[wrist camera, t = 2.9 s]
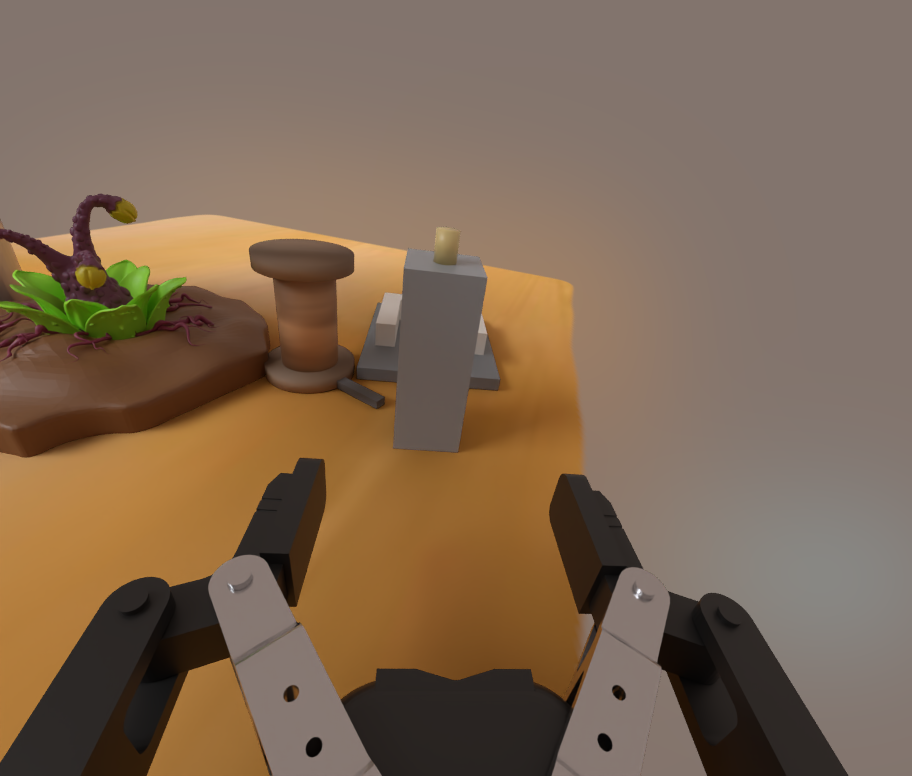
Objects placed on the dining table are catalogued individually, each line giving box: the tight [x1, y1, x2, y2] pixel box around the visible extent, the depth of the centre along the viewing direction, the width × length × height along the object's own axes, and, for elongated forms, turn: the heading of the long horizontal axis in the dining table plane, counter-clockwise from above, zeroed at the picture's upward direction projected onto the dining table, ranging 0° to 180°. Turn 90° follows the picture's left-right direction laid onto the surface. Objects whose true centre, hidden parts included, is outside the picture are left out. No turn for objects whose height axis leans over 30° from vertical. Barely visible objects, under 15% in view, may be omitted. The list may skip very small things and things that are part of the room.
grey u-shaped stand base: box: [357, 293, 500, 390], centre depth 37 cm, size 14×11×3 cm
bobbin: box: [249, 239, 385, 409], centre depth 28 cm, size 10×6×9 cm, turn 33°
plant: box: [0, 194, 270, 457], centre depth 27 cm, size 20×20×11 cm
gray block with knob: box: [393, 227, 487, 452], centre depth 23 cm, size 4×4×13 cm
